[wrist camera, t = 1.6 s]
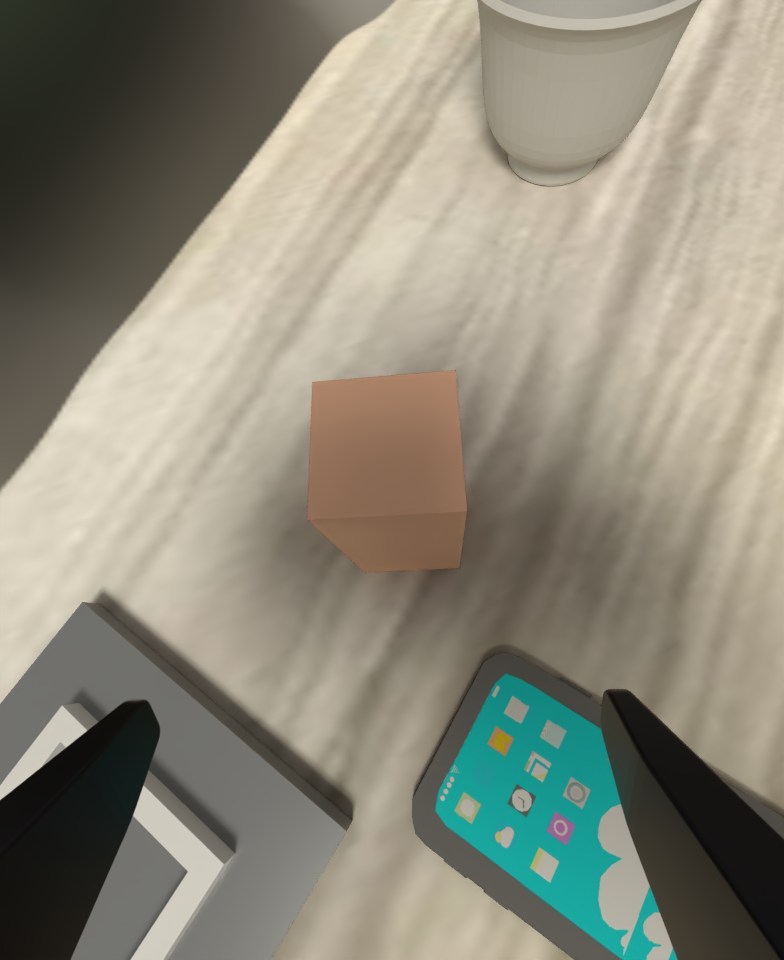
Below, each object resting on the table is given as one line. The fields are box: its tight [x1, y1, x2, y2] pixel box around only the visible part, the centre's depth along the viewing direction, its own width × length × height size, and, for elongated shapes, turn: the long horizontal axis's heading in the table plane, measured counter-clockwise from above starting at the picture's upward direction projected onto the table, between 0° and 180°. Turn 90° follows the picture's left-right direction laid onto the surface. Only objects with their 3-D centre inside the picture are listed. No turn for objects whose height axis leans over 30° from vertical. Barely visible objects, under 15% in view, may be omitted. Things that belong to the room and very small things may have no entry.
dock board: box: [0, 602, 352, 960], centre depth 19 cm, size 16×16×2 cm
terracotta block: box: [307, 370, 467, 572], centre depth 19 cm, size 5×5×10 cm
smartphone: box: [412, 653, 784, 960], centre depth 18 cm, size 9×1×15 cm
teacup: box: [477, 0, 702, 186], centre depth 26 cm, size 12×15×10 cm
